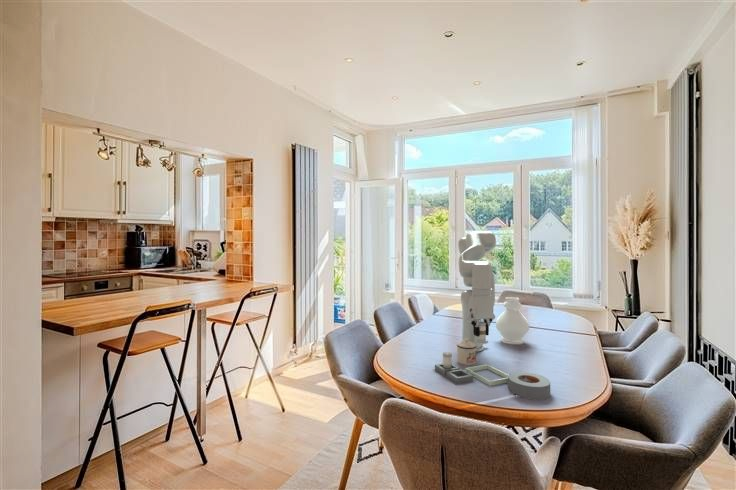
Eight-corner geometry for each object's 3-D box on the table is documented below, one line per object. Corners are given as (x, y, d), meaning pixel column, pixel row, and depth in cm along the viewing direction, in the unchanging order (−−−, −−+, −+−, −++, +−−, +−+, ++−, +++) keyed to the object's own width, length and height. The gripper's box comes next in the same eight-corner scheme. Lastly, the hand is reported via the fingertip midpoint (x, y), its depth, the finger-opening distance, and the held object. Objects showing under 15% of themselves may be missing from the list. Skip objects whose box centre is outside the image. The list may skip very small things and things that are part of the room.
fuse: (448, 369, 162) (448, 351, 162) (453, 372, 159) (453, 354, 158) (440, 370, 161) (440, 352, 161) (445, 373, 157) (446, 355, 157)
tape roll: (518, 380, 152) (518, 368, 152) (556, 391, 141) (556, 378, 141) (500, 391, 141) (500, 378, 141) (540, 404, 130) (541, 390, 130)
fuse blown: (481, 339, 155) (482, 321, 155) (487, 342, 152) (488, 323, 151) (474, 340, 154) (474, 321, 154) (480, 343, 150) (480, 324, 150)
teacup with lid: (468, 368, 166) (469, 342, 165) (452, 362, 173) (452, 338, 172) (483, 362, 173) (483, 338, 173) (467, 357, 180) (467, 334, 180)
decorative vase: (513, 335, 219) (513, 294, 218) (536, 343, 202) (536, 299, 201) (489, 338, 212) (489, 296, 212) (511, 347, 196) (511, 301, 195)
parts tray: (487, 369, 163) (487, 364, 163) (513, 383, 149) (513, 377, 149) (465, 373, 159) (465, 367, 159) (490, 387, 144) (490, 381, 144)
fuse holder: (432, 371, 162) (432, 364, 162) (450, 368, 166) (450, 361, 166) (455, 386, 145) (455, 379, 145) (476, 382, 149) (476, 375, 149)
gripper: (491, 289, 159) (491, 330, 159) (459, 292, 153) (459, 334, 154) (503, 292, 151) (503, 335, 152) (470, 295, 146) (469, 339, 146)
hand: (481, 334), depth 153 cm, fingers closed on fuse blown, 3 cm apart
